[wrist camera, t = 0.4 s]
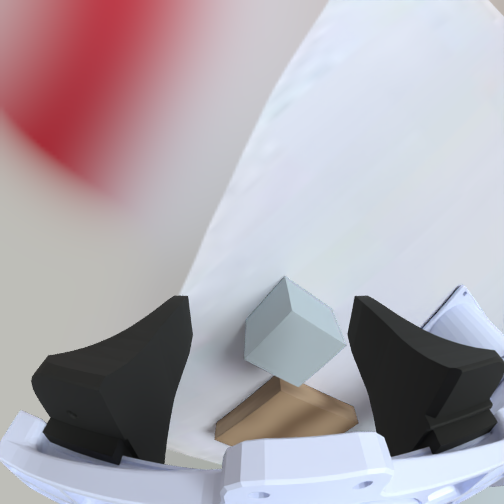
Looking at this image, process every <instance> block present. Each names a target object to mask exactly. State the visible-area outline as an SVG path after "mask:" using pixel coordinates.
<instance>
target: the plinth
mask: <svg viewBox="0 0 504 504" xmlns="http://www.w3.org/2000/svg"><path fill="white" fill-rule="evenodd" d="M356 424H358V420H357V416H356V413H355V410H354V407H353V406H351V405H349V404H346V403H344V402H342V401H340V400H337V399H335V398H333V397H331V396H328V395H326V394H324V393H322V392H320V391H318V390H316V389H313V388H311V387H309V386H307V385H305V384H302V385H301V386H299V387H297V386H295V385H293V384H291V383H289V382H287V381H285V380H283V379H281V378H279V377H277V376H274V377H272V378H271V379H270V380H269V381H268V382H267V383H265V384H264V385H263V386H262V387H261V388H260V389H258V390H257V391H256V392H255V393H254V394H252V395H251V396H250V397H249V398H247V399H246V400H245V401H244V402H242V403H241V404H240V405H239V406H237V407H236V408H235V409H234V410H232V411H231V412H230V413H229V414H227V415H226V416H225V417H223V418H222V419H221V420H219V421H218V422H217V423H216V431H215V439H214V440H217V441H219V442H222V443H225V444H227V445H230V446H234V445H236V444H238V443H241V442H243V441H246V440H255V439H263V438H295V437H310V436H322V435H332V434H341V433H345V432H346V431H348V430H349V429H351V428H352V427H354V426H355V425H356Z"/></svg>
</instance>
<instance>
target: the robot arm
mask: <svg viewBox="0 0 504 504" xmlns="http://www.w3.org/2000/svg"><path fill="white" fill-rule="evenodd" d="M463 293H464V294H463ZM192 336H193V332H192V325H191V317H190V309H189V300H188V296H173V297H172V298H170V299H169V300H167V301H166V302H165V303H163V304H162V305H161V306H160V307H158V308H157V309H156V310H155V311H153V312H152V313H150V314H149V315H148V316H146V317H145V318H143V319H142V320H140V321H139V322H137V323H136V324H134V325H133V326H131V327H129V328H128V329H126V330H124V331H122V332H121V333H119V334H117V335H115V336H113V337H111V338H108V339H106V340H103V341H101V342H99V343H96V344H94V345H91V346H88V347H85V348H81V349H78V350H74V351H70V352H65V353H60V354H55V355H49V356H48V357H47V358H46V359H45V360H44V362H43V363H42V364H41V365H40V367H39V368H38V369H37V371H36V372H35V373H34V375H33V376H32V380H31V382H32V386H33V390H34V392H35V394H36V396H37V398H38V399H39V401H40V402H41V404H42V405H43V407H44V408H45V410H46V412H47V413H48V414H49V416H50V417H51V418H50V420H49V421H48V423H46V422H45V421H43V420H42V419H40V418H39V417H36V416H34V415H32V414H29V413H27V412H25V411H23V410H20V411H19V413H18V414H17V416H16V417H15V419H14V420H13V422H12V424H11V425H10V427H9V428H8V430H7V431H6V433H5V435H4V436H3V438H2V440H1V441H0V461H1V462H2V463H3V464H4V465H5V466H6V467H7V468H8V469H9V470H10V471H11V472H12V473H13V474H14V475H16V476H17V477H18V478H19V479H20V480H21V481H22V482H23V483H25V484H26V485H27V486H28V487H29V488H31V489H33V490H35V491H36V492H38V493H40V494H42V495H44V496H46V497H47V498H49V499H51V500H53V501H55V502H57V503H59V504H459V503H461V502H463V501H464V500H466V499H468V498H470V497H472V496H473V495H475V494H477V493H479V492H480V491H482V490H483V489H485V488H487V487H495V486H504V335H503V333H502V332H501V331H500V330H499V329H498V328H497V327H496V326H495V325H494V324H493V323H492V322H491V321H490V320H489V319H488V318H487V316H486V315H485V313H484V312H483V310H482V309H481V308H480V306H479V305H478V303H477V302H476V300H475V299H474V298H473V296H472V295H471V293H470V292H469V291H468V289H467V288H466V287H465V286H464V285H461V286H460V287H459V288H458V289H457V290H456V291H455V293H454V294H453V295H452V296H451V297H450V299H449V300H448V301H447V302H446V303H445V304H444V306H443V307H442V308H441V309H440V310H439V311H438V312H437V313H436V315H435V316H434V317H433V318H432V319H431V320H430V321H429V322H428V323H427V324H426V325H425V326H424V327H423V328H422V329H421V328H419V327H417V326H416V325H414V324H412V323H410V322H409V321H407V320H405V319H404V318H402V317H400V316H399V315H397V314H396V313H394V312H393V311H391V310H390V309H388V308H387V307H385V306H384V305H382V304H381V303H379V302H378V301H376V300H374V299H373V298H371V297H369V296H355V298H354V303H353V309H352V314H351V319H350V324H349V329H348V339H349V343H350V347H351V351H352V354H353V357H354V359H355V362H356V364H357V367H358V369H359V372H360V374H361V377H362V379H363V382H364V384H365V387H366V389H367V392H368V395H369V399H370V403H371V407H372V411H373V416H374V421H375V427H376V432H377V433H376V432H372V431H356V432H349V433H341V434H332V435H322V436H310V437H295V438H263V439H255V440H246V441H243V442H241V443H238V444H236V445H234V446H232V447H230V448H228V449H227V450H226V452H225V454H224V456H223V463H222V469H211V470H203V469H194V468H186V467H178V466H172V465H166V464H164V463H165V452H166V444H167V437H168V430H169V424H170V418H171V413H172V407H173V402H174V398H175V394H176V391H177V388H178V385H179V382H180V379H181V376H182V373H183V370H184V368H185V365H186V362H187V359H188V356H189V352H190V347H191V342H192Z"/></svg>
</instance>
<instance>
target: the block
mask: <svg viewBox="0 0 504 504" xmlns="http://www.w3.org/2000/svg"><path fill="white" fill-rule="evenodd" d="M345 346H346V343H345V340H344V338H343V335H342V333H341V330H340V328H339V325H338V323H337V320H336V318H335V315H334V313H333V310H332V308H331V307H329V306H328V305H326V304H325V303H323V302H322V301H321V300H319V299H318V298H316V297H315V296H313V295H312V294H311V293H309V292H308V291H306V290H305V289H303V288H302V287H300V286H299V285H298V284H296V283H295V282H293V281H292V280H290V279H289V278H288V277H286V276H284V278H283V279H282V280H281V281H280V282H279V283H278V284H277V286H276V287H275V288H274V289H273V290H272V291H271V292H270V293H269V295H268V296H267V297H266V298H265V299H264V300H263V301H262V303H261V304H260V305H259V306H258V307H257V308H256V309H255V310H254V311H253V313H252V314H251V315H250V316H249V317H248V318H247V319H246V330H245V350H244V360H246V361H248V362H250V363H251V364H253V365H255V366H257V367H259V368H261V369H263V370H265V371H267V372H269V373H271V374H273V375H275V376H277V377H279V378H281V379H283V380H285V381H287V382H289V383H291V384H293V385H295V386H297V387H299V386H301V385H302V384H303V383H304V382H305V381H307V380H308V379H309V378H310V377H311V376H313V375H314V374H315V373H316V372H317V371H318V370H320V369H321V368H322V367H323V366H324V365H325V364H327V363H328V362H329V361H330V360H331V359H332V358H333V357H334V356H335V355H337V354H338V353H339V352H340V351H341V350H342V349H343V348H344V347H345Z"/></svg>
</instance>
